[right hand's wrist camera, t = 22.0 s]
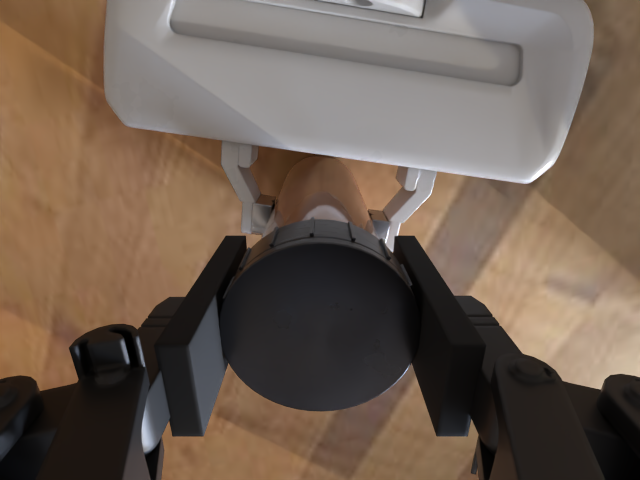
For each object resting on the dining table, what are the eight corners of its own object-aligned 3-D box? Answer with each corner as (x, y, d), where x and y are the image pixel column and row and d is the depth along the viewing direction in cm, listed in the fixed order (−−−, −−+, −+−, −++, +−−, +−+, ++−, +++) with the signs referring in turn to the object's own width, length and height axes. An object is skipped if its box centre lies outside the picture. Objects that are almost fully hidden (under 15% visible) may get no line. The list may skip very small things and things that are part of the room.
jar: (356, 226, 26) (399, 382, 12) (285, 228, 26) (245, 386, 12) (357, 153, 24) (409, 238, 10) (280, 156, 24) (225, 243, 10)
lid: (230, 361, 13) (215, 403, 11) (235, 206, 11) (218, 229, 9) (389, 376, 13) (400, 420, 12) (424, 228, 11) (445, 253, 9)
